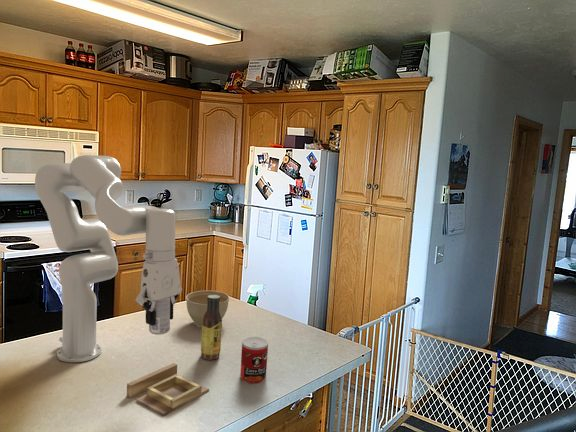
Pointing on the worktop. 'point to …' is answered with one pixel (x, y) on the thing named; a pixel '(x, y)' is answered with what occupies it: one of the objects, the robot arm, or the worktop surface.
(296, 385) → the worktop surface
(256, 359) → the canned food
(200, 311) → the planter bowl
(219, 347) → the sauce bottle
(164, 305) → the energy drink
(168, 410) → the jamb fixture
